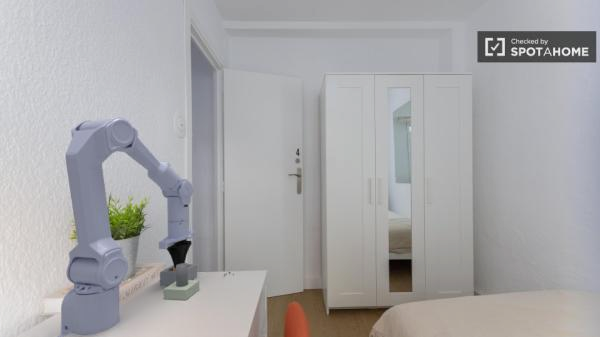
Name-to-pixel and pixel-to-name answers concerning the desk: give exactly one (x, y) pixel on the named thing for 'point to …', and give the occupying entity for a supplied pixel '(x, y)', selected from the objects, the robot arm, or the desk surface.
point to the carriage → (181, 285)
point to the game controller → (226, 274)
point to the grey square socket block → (170, 276)
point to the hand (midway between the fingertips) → (179, 267)
